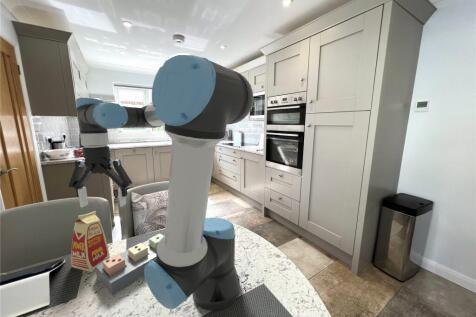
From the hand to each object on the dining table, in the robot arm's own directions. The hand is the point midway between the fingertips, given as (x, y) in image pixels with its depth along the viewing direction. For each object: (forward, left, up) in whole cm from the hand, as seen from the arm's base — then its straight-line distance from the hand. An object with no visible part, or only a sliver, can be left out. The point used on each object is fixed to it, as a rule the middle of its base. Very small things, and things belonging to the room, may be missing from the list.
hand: (103, 205), depth 69 cm
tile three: (-10, +2, -19) cm, 22 cm away
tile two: (-10, -6, -19) cm, 22 cm away
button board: (-10, -6, -23) cm, 26 cm away
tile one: (-10, -14, -19) cm, 26 cm away
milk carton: (+7, +4, -24) cm, 25 cm away
